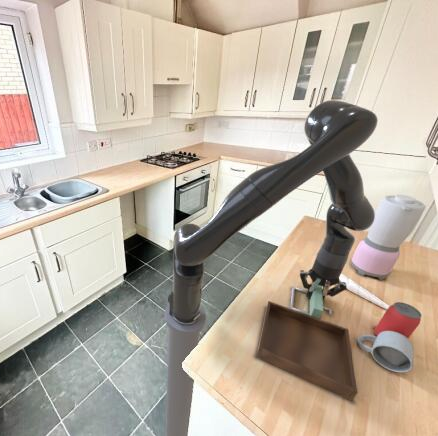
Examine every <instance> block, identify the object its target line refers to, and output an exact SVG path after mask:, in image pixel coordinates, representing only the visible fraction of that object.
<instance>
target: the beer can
mask: <svg viewBox="0 0 438 436" xmlns="http://www.w3.org/2000/svg"><path fill="white" fill-rule="evenodd" d="M389 306H390V307H389V308H388V309H386V310H385V312H384V314H383V315H382V317H381V319H380V320H379V321H378V323H377V324H376V326H375V328H374V334H375V335H376V337H377V336H378V335H379V334H380V333H381V332H383V331H395V332H398V333H400V334H402V335H404V336H405V337H407V338H408V339H410V337H411V336H412V335H413V333H414V332H415V331H416V329H417V328H418V326H419V325H420V324H421V320H422V317H423V316H422V313H421V312H420V310H418V309H417V308H416V307H415V306H413V305H411V304H409V303H405V302H401V301H396V302H394V303H393V304H391V305H389Z"/></svg>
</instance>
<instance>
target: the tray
mask: <svg viewBox="0 0 438 436" xmlns="http://www.w3.org/2000/svg"><path fill="white" fill-rule="evenodd" d="M256 358H258V359H260V360H262V361H264V362H267V363H269V364H270V365H273V366H275V367H277V368H280V369H282V370H285V371H287V372H289V373H290V374H293V375H295V376H297V377H299V378H301V379H303V380H306V381H308V382H309V383H312V384H314V385H316V386H319V387H321V388H323V389H325V390H327V391H330V392H332V393H334V394H336V395H338V396H341V397H342V398H344V399H347V400H349V401H351V402H352V401H353V400H354V399H355V397H356V396H357V394H358V387H357V380H356V373H355V366H354V360H353V354H352V345H351V339H350V333H349V329H348V328H346V327H343V326H340V325H339V324H335V323H333V322H329V321H327V320H324V319H321V318H320V319H318V318H315V317H312V316H310V315H307V314H304V313H301V312H298V311H295V310H293V309H292V308H289V307H288V306H284V305H281V304H279V303H276V302H273V301H271V300H268V302H267V305H266V308H265V313H264V318H263V322H262V327H261V333H260V337H259V342H258V346H257V352H256Z"/></svg>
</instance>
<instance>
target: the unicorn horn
mask: <svg viewBox="0 0 438 436" xmlns="http://www.w3.org/2000/svg"><path fill="white" fill-rule="evenodd" d="M339 280H340V281H341V282H345V283H346V287H347V289H346V290H348V291H350V292H352V293H353V294H355V295H357V296H359V297H361V298H363V299H365V300H367V301H369V302H371V303H372V304H375V305H376V306H378V307H381V308H383V309H385V310H387V309H388V308H389V307H390V306H391V305H389V304H387V303H386V302H384V301H383V300H381V299H380V298H379V297H377V296H376V295H374V294H373V293H371V292H370V291H368V290H367V289H365V288H364V287H363V286H361V285H359V283H357V282H355V281H354V280H352V279H351V278H349V277H348V276H346V275H345V274H343V272H342V273H341V275H340V277H339Z"/></svg>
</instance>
